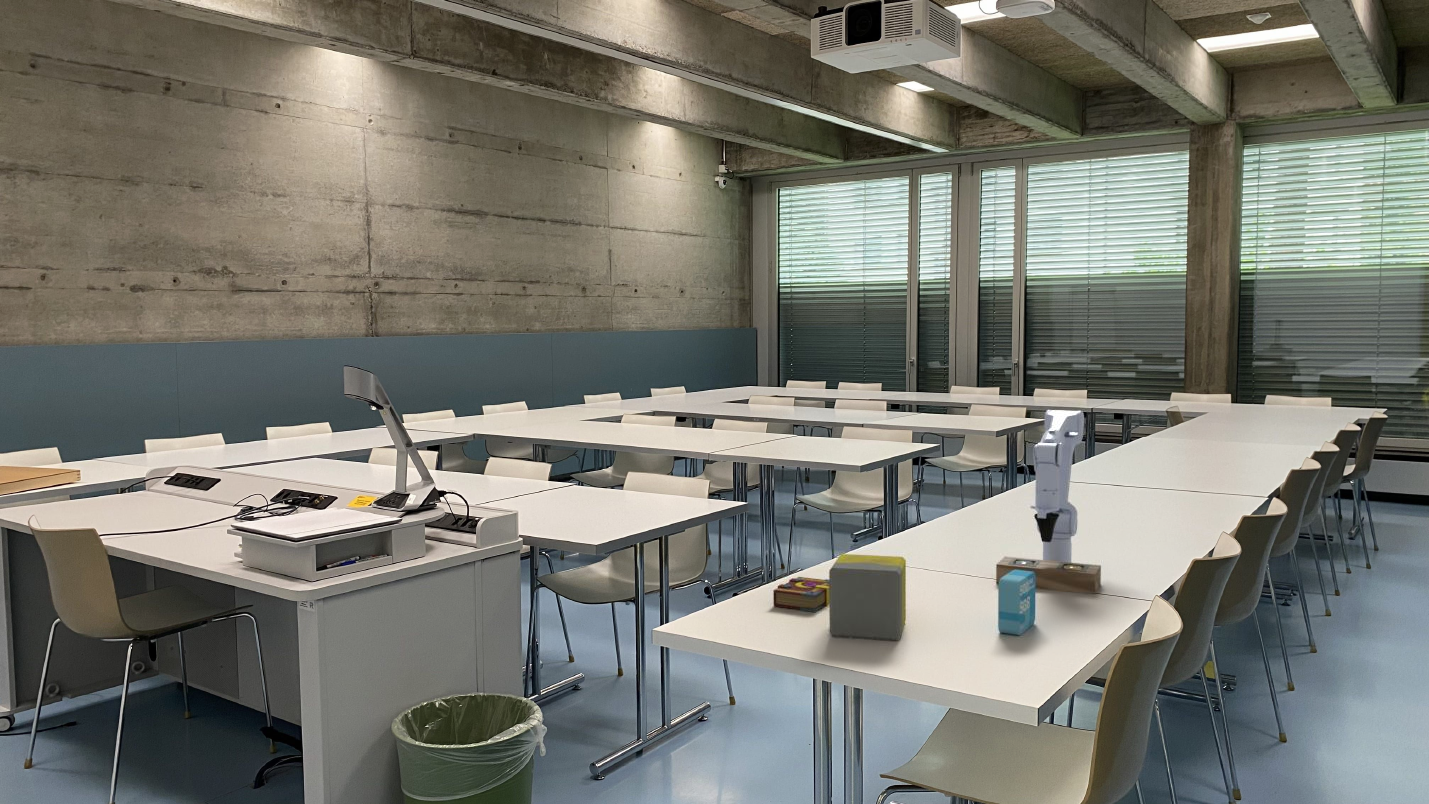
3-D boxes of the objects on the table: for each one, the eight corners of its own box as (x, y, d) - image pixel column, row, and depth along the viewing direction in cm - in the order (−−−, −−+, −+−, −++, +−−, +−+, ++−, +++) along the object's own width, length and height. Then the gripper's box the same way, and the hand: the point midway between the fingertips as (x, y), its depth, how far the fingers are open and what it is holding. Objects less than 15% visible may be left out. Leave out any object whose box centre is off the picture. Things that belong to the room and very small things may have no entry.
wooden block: (1004, 574, 268) (1005, 556, 268) (1100, 584, 257) (1100, 565, 256) (996, 583, 259) (996, 564, 259) (1094, 594, 248) (1095, 573, 248)
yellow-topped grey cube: (909, 610, 236) (909, 547, 235) (899, 642, 213) (899, 571, 211) (845, 606, 240) (845, 544, 239) (829, 637, 217) (828, 568, 216)
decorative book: (772, 608, 241) (771, 587, 240) (800, 592, 255) (799, 572, 254) (815, 613, 235) (815, 592, 235) (841, 597, 249) (841, 577, 249)
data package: (1018, 637, 215) (1019, 582, 214) (997, 634, 217) (998, 579, 216) (1035, 623, 224) (1036, 570, 224) (1015, 620, 227) (1015, 567, 226)
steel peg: (1017, 577, 264) (1017, 560, 263) (1034, 578, 262) (1034, 561, 261) (1014, 580, 260) (1014, 563, 260) (1030, 582, 258) (1030, 565, 258)
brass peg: (1065, 581, 258) (1065, 564, 258) (1082, 583, 256) (1082, 566, 256) (1062, 585, 254) (1062, 568, 254) (1080, 587, 252) (1080, 569, 252)
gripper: (1036, 484, 268) (1036, 535, 268) (1025, 492, 255) (1024, 545, 256) (1064, 486, 264) (1063, 537, 265) (1054, 494, 252) (1053, 547, 252)
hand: (1046, 541), depth 260 cm, fingers closed
